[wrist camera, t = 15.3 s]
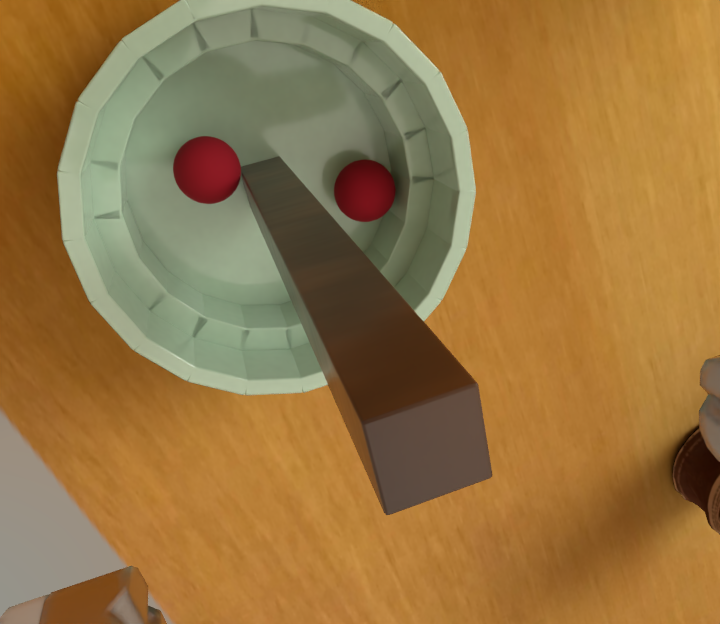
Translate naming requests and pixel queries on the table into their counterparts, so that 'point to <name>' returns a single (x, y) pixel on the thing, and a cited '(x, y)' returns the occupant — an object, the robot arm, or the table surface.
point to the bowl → (233, 215)
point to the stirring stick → (372, 350)
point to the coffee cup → (699, 477)
